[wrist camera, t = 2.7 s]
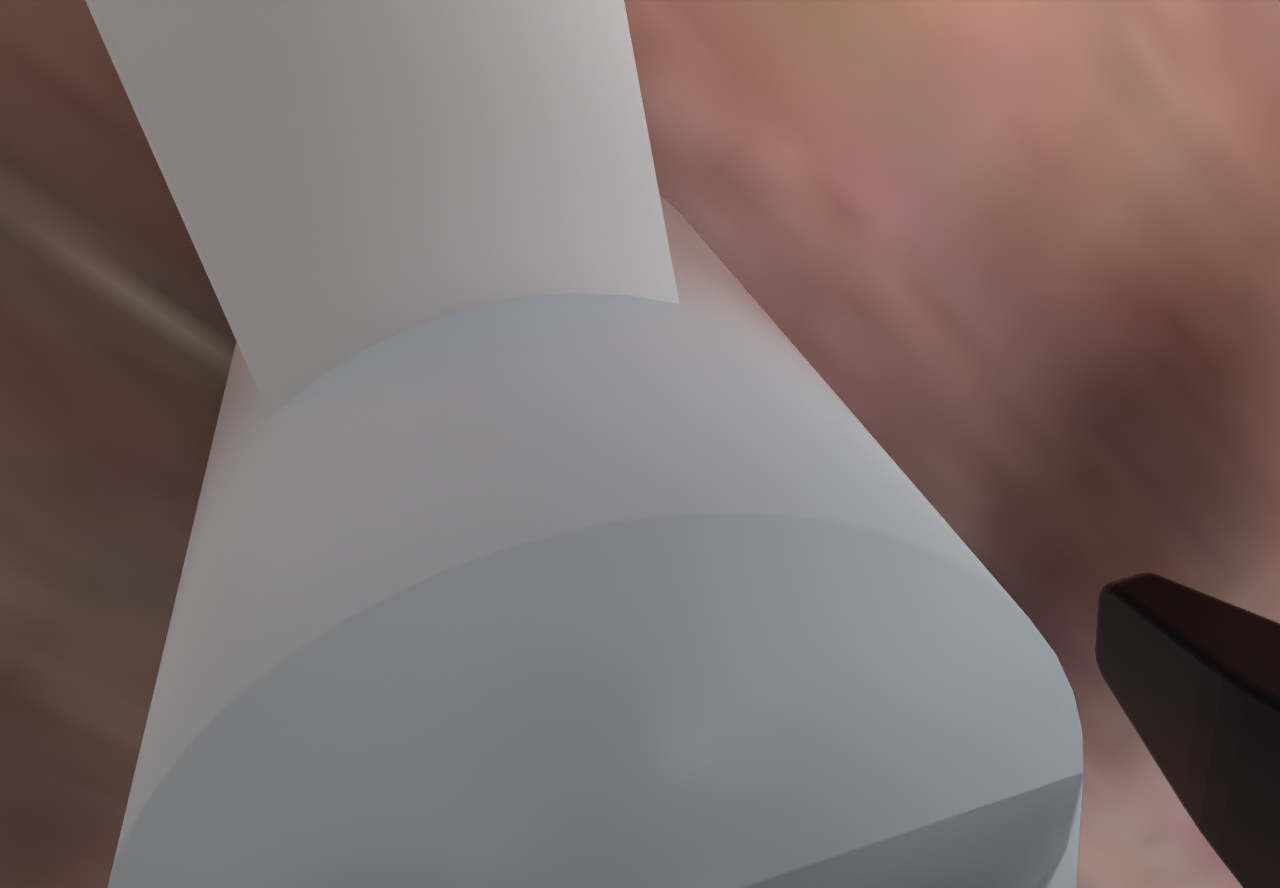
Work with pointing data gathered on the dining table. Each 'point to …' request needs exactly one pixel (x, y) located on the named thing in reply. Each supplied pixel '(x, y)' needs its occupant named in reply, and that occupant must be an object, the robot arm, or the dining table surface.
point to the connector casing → (538, 506)
